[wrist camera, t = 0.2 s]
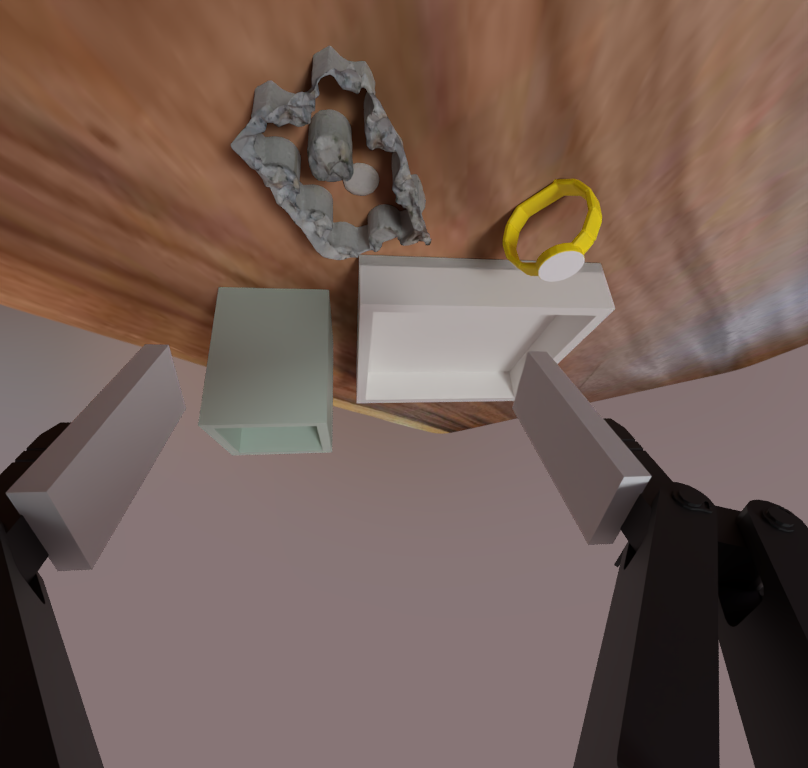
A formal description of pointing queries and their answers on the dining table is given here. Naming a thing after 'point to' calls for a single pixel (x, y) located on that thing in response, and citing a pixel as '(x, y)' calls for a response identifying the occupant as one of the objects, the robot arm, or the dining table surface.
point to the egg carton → (332, 162)
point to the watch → (563, 256)
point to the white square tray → (464, 325)
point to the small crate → (270, 372)
